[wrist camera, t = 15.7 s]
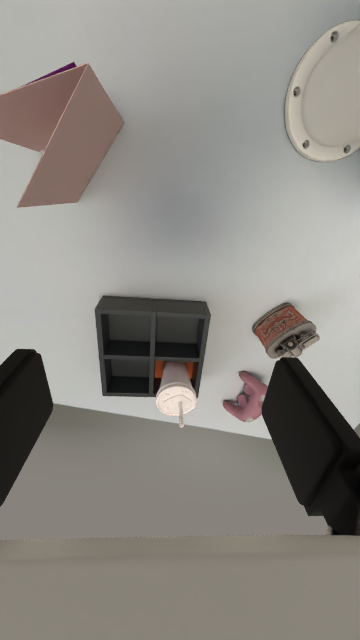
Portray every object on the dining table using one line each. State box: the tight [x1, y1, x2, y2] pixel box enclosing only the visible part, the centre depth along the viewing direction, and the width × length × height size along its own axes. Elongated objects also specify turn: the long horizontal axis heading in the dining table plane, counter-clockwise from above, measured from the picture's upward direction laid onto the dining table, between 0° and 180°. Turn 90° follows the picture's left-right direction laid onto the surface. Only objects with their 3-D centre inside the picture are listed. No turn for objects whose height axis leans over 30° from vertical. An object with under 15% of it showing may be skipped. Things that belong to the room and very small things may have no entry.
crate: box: [95, 296, 211, 398], centre depth 42 cm, size 17×17×5 cm
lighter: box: [252, 303, 320, 359], centre depth 39 cm, size 8×3×10 cm, turn 131°
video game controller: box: [223, 372, 268, 422], centre depth 49 cm, size 10×5×7 cm, turn 161°
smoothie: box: [156, 361, 197, 427], centre depth 40 cm, size 6×6×14 cm
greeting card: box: [0, 62, 124, 208], centre depth 24 cm, size 11×7×15 cm, turn 105°
